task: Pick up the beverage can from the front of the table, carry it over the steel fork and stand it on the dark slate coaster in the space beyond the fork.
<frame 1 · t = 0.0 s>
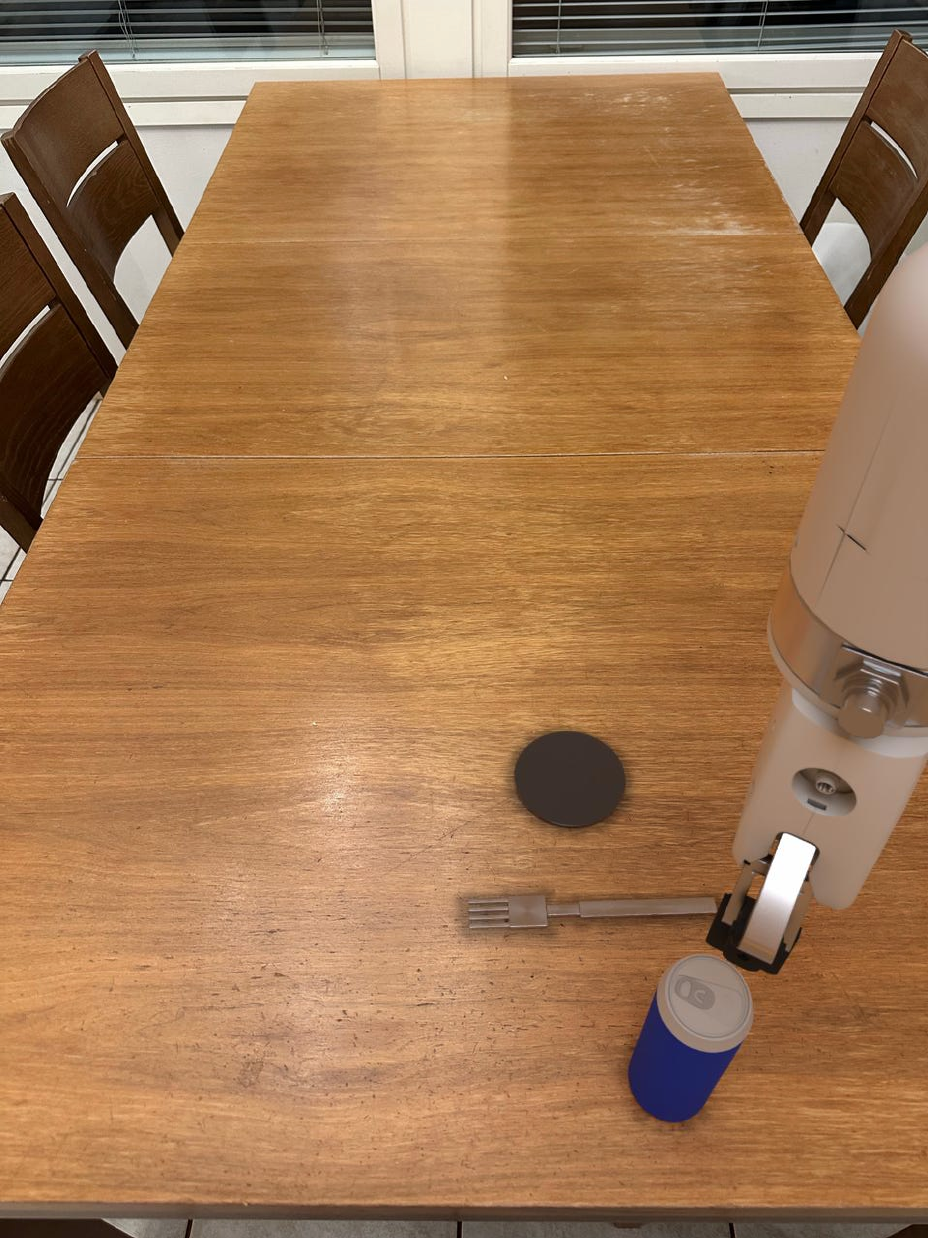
hand: (773, 864, 44), 25 cm above the table, tool pointing down, fingers open, 9 cm apart
coaster: (569, 779, 77), on the table
fork: (606, 910, 69), on the table
beverage can: (666, 1082, 62), on the table
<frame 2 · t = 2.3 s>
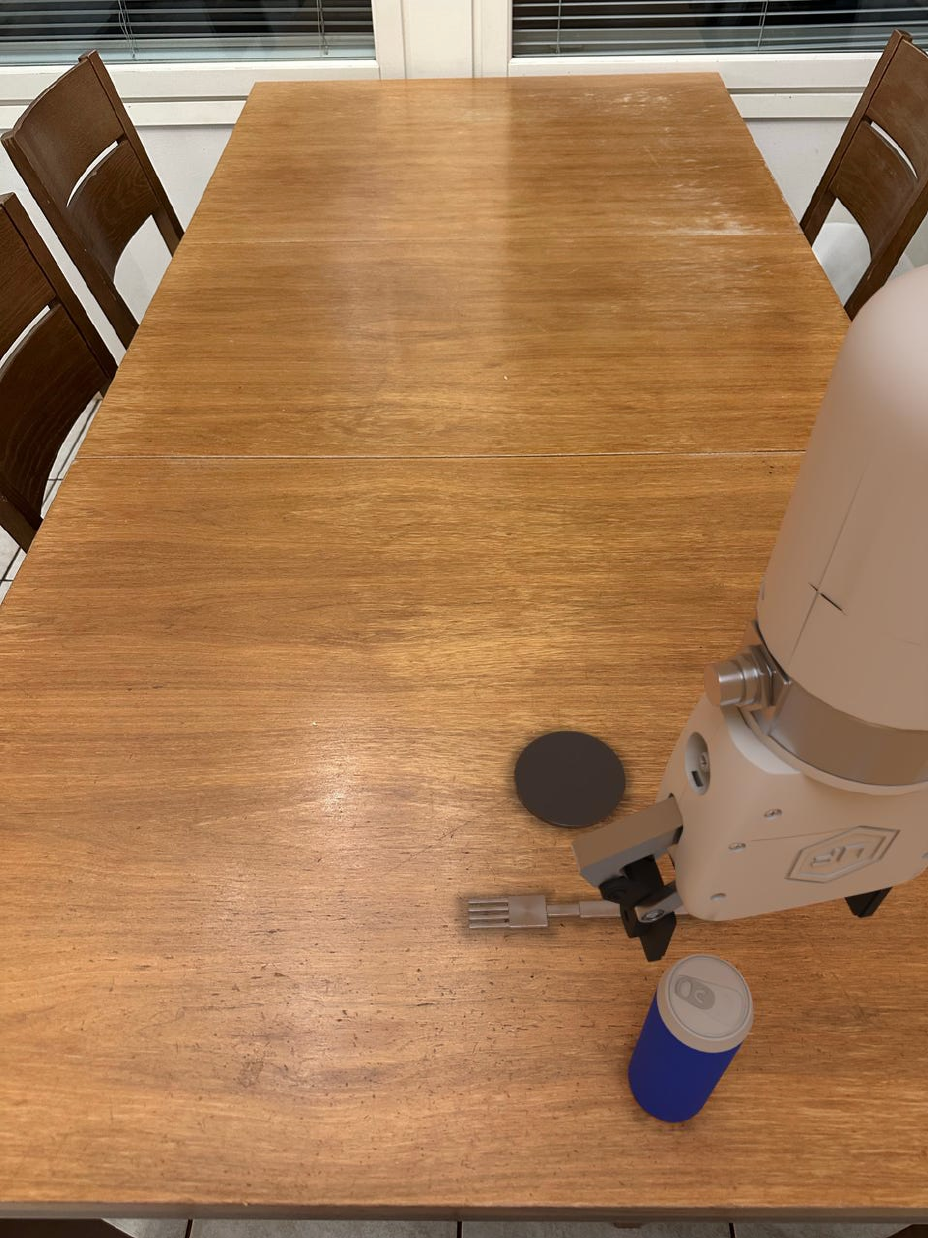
hand: (746, 907, 42), 26 cm above the table, tool pointing down, fingers open, 9 cm apart
nothing on the table moved.
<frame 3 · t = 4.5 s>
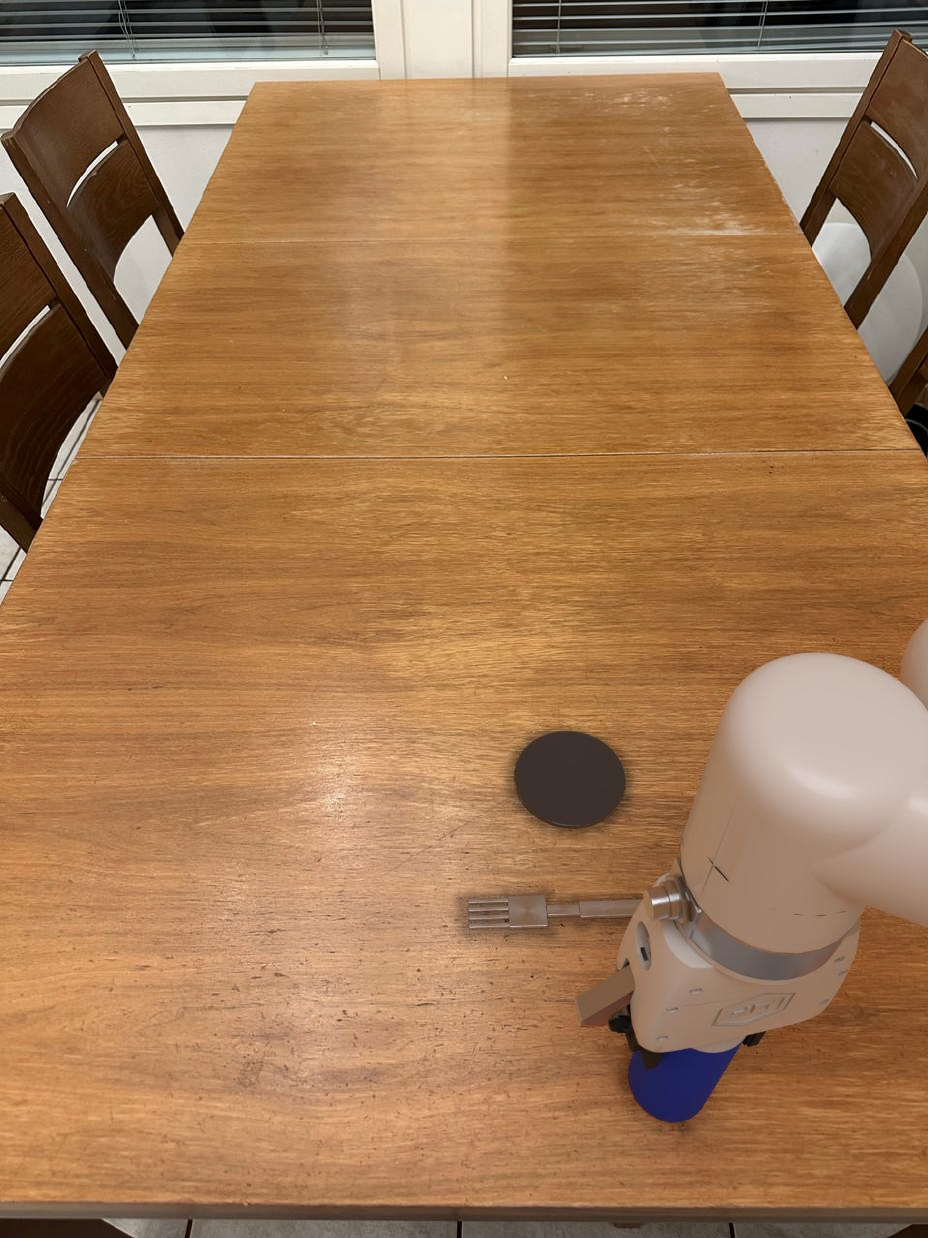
hand: (692, 1029, 54), 10 cm above the table, tool pointing down, fingers closed on beverage can, 5 cm apart
beverage can: (666, 1082, 62), on the table, touching gripper
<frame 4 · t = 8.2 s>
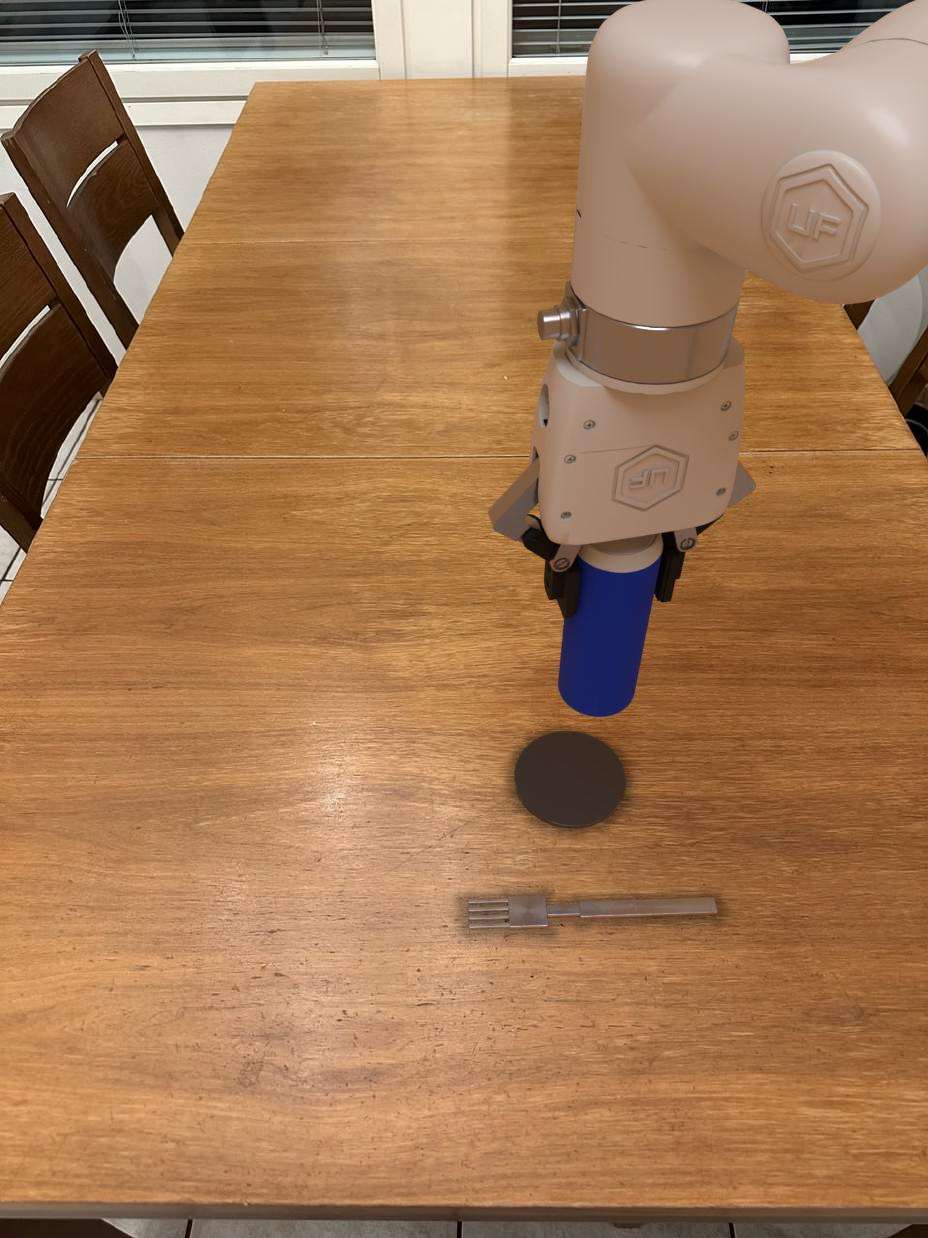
hand: (610, 591, 57), 25 cm above the table, tool pointing down, fingers closed on beverage can, 5 cm apart
beverage can: (595, 693, 64), point 15 cm above the table, touching gripper
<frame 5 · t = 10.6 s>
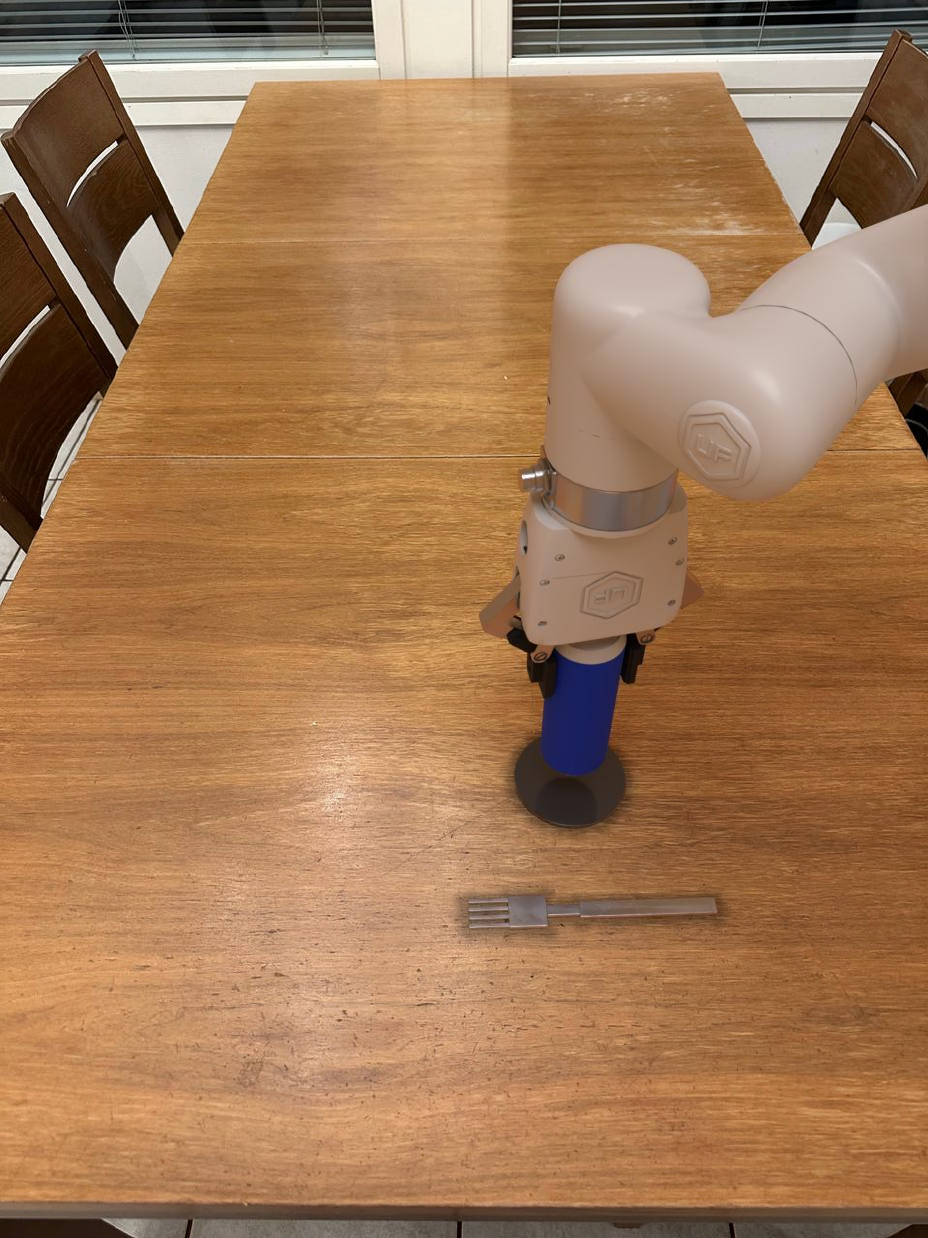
hand: (583, 673, 67), 14 cm above the table, tool pointing down, fingers closed on beverage can, 5 cm apart
beverage can: (572, 753, 74), point 4 cm above the table, touching gripper
when the fingers open (10 cm above the table, at t = 12.0 s): beverage can stays where it is, resting on coaster.
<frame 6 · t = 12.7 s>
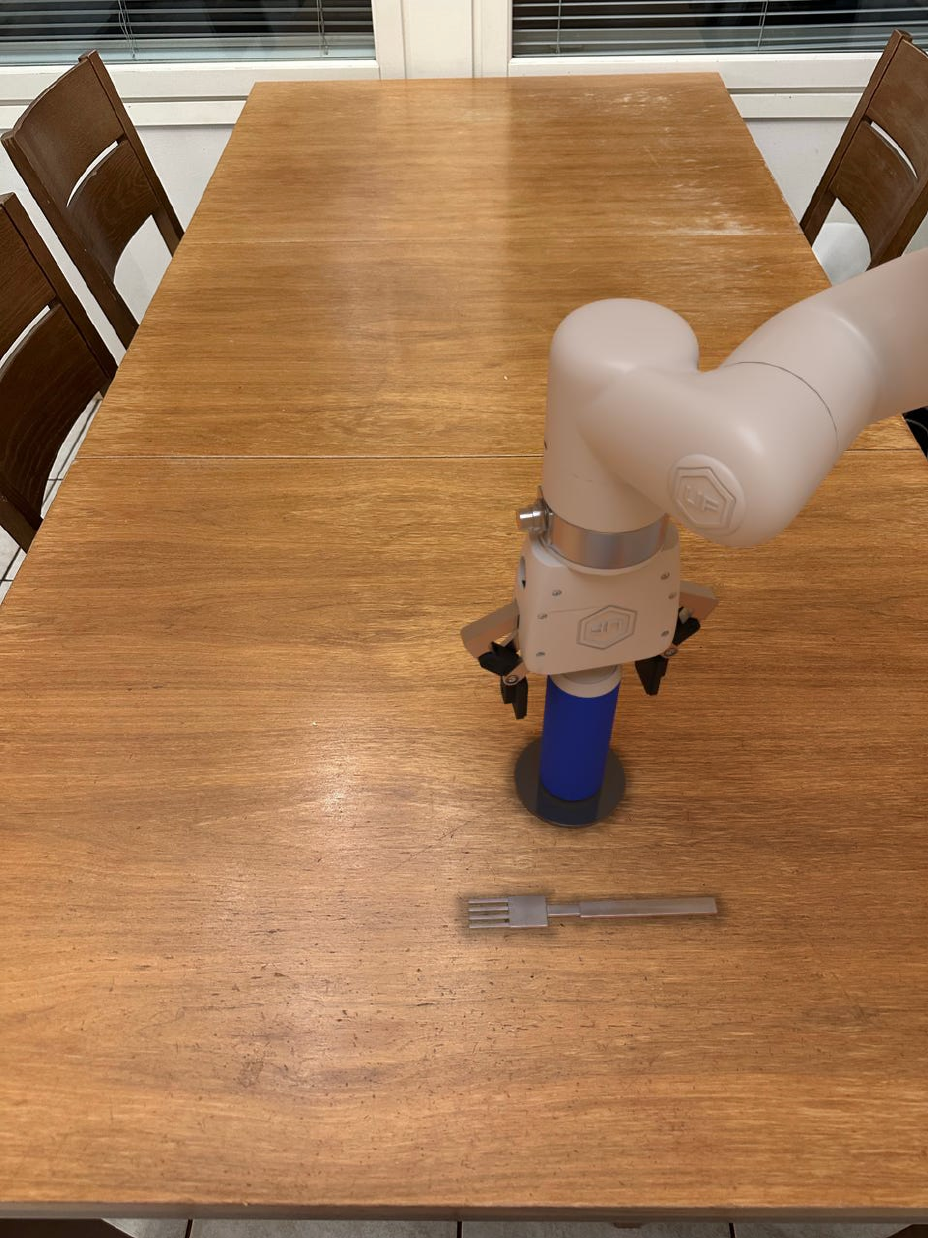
hand: (581, 691, 68), 12 cm above the table, tool pointing down, fingers open, 9 cm apart
beverage can: (570, 778, 77), resting on coaster
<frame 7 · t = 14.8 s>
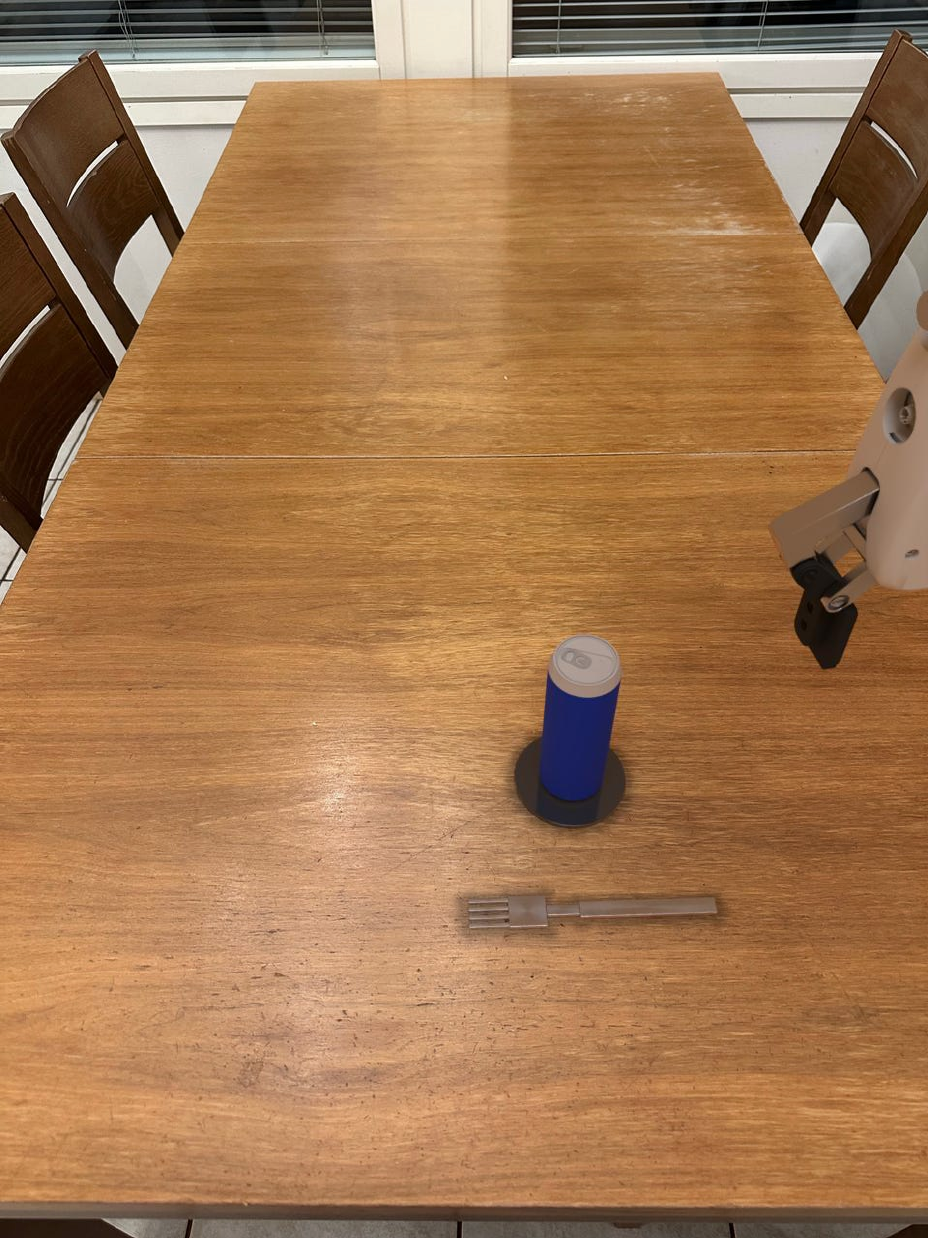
hand: (909, 629, 46), 31 cm above the table, tool pointing down, fingers open, 9 cm apart
nothing on the table moved.
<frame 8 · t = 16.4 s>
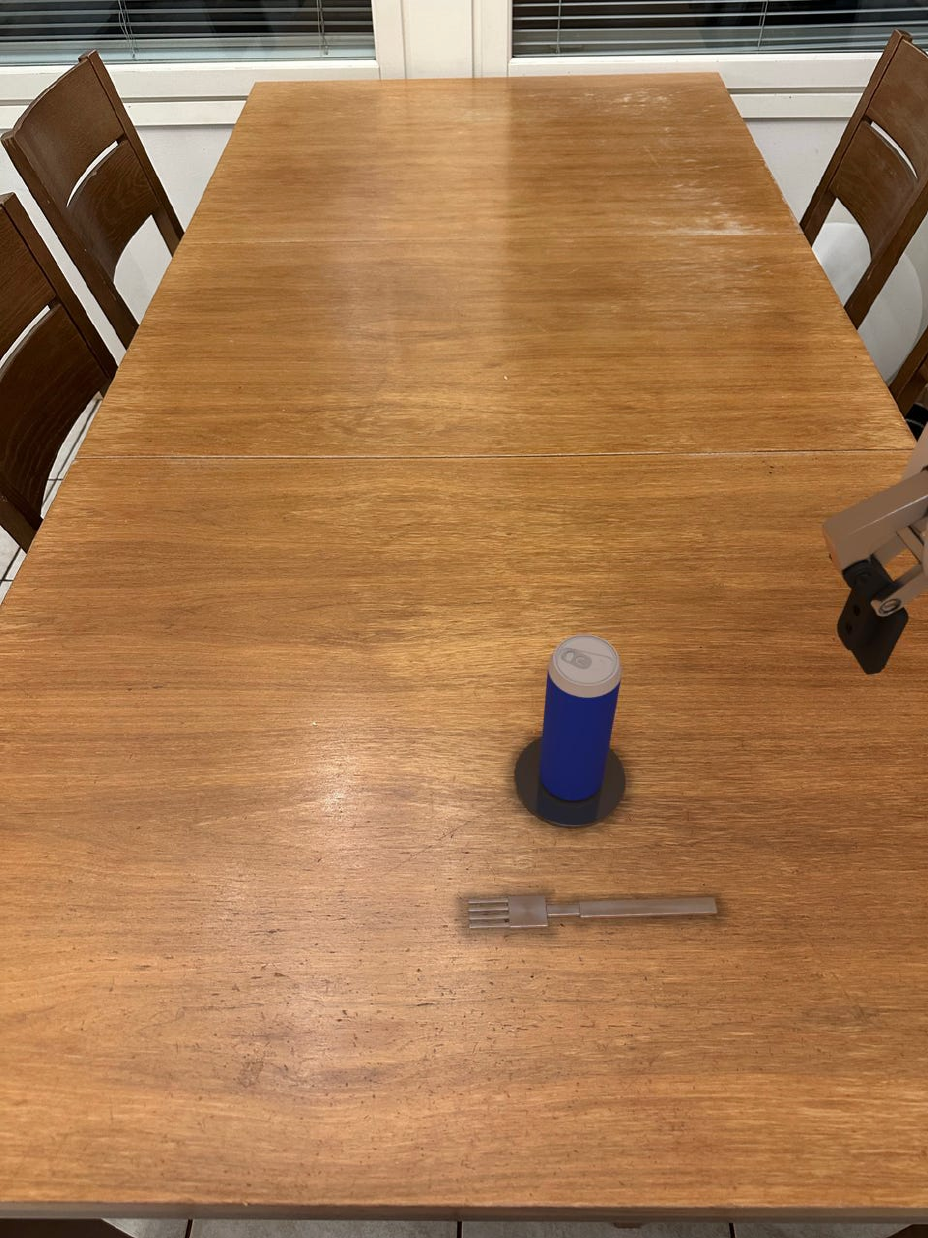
nothing on the table moved.
at the end: beverage can 0.1 cm off-centre on the coaster, point 0.2 cm above the coaster's base; beverage can tilted 0°; the gripper is holding nothing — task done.
